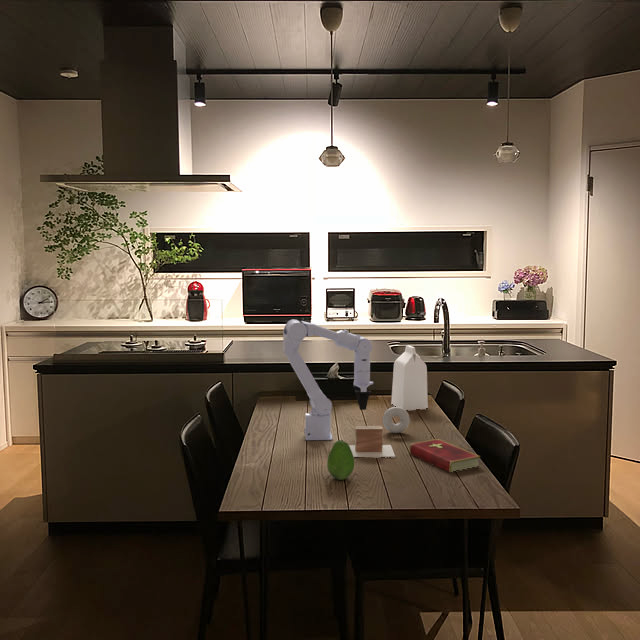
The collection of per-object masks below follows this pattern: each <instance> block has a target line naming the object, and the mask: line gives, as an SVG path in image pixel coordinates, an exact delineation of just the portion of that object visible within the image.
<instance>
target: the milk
mask: <svg viewBox="0 0 640 640" xmlns="http://www.w3.org/2000/svg"><path fill="white" fill-rule="evenodd" d="M427 368H428V367H427V364H426V363H425V361H424V360H422V358H421V357H420V355H419V354H418V353H417V352H416V347H414V346H412V345H408V344H406V345H405V349H404V352H402V353H401V354H400V356H398V357H397V358H396V359H395V361H394V363H393V373H392V374H393V375H392V389H391V403H390V405H392V404H393V405H392V406H393V407H395V406H396V407H401V408H403V409H405V410H408V411H417V410H416V409H420V410H427V409H426V408H428V409H429V407H428V405H429V403H428V401H429V399H428V369H427Z"/></svg>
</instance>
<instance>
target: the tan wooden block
mask: <svg viewBox="0 0 640 640" xmlns="http://www.w3.org/2000/svg"><path fill="white" fill-rule="evenodd" d="M383 431H384V430H383V426H382V425H355V426H354V445H355V451H356V452H382V447H383V445H384V444H383V441H384V439H383V438H384V437H383V435H384V432H383Z"/></svg>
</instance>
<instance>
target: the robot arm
mask: <svg viewBox="0 0 640 640" xmlns="http://www.w3.org/2000/svg"><path fill="white" fill-rule="evenodd" d="M282 334H283V338H282V351H283V354H284V355H285V357H286V359H287V360H288V362H289V364H290V365H291V368H292V369H293V371H294V372H295V374H296V376H297V377H298V379H299V381H300V383H301V384H302V386H303V388H304V390H305V391H306V394H307V396H308V397H309V405H310V406H311V410H310V412H309V413H308V412H306V413H305V417H304V418H305V421H304V422H305V423H304V424H305V426H304V430H303V431H304V436H305V438H304V439H305V441H333V436H332V432H331V428H332V426H331V422H332V421H331V418H332V416H331V412H332V409H333V403H332V401H331V399H329V398H327V396H326V395H325V394H324V393H323V391H322V390H321V389H320V387H319V384H318V383H317V382H316V380H315V378H314V376H313V374H312V373H311V371H310V369H309V367H308V366H307V364H306V362H305V361H304V359H303V357H302V355H301V353H300V352H299V348H300V346H301V343H302V342H303V340H304V339H305V338H306V337H308V338H310V337H312V336H318V337H322V338H324V339H327V340H332V341H333V342H334V344H335V346H338V347H340V348H344V349H347V350H350V351H354V359H353V360H354V361H353V366H354V367H353V369H354V370H353V372H354V373H353V374H354V375H353V379H354V380H353V389H354V392H355V394H356V401H357V405H358V407H359V408H358V409H359V410H360V411H366V409H367V406H368V401H369V399H370V398H369V397H370V396H371V394H372V390H368V389H369V387H370V386H371V385H374V381H371V352H372V351H373V343H372V342H371V341H370V340H369V339H368V338H365V337H364V336H362V335H360V334H358V333H356V334H355V333H351V332H349V330H347V329H340V330H338V331H334V330H331V329H329V328H325V327H323V326H320V325H317V324H316V323H312V322H307V321H303V320H301V321H299V320H298V319H294V318H293V319H290V320H288V321H287V322H286V323H285V326H284V328H283V330H282Z"/></svg>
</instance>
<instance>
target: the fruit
mask: <svg viewBox="0 0 640 640" xmlns="http://www.w3.org/2000/svg"><path fill="white" fill-rule="evenodd" d="M349 445H350V444H348V443H347V442H346V441H345V440H342V439H339V440H336V441H335V442H334V443H333V445H332V447H331V449H330V451H329V453H328V456H327V460H326V461H327V462H326V466H327V471H328V473H329V474H330V475H331V476H332V478H334V479H336V480H337V481H342V480H345V479H348V478H349V477H350V475H352V473H353V471H354V468H355V458H354V457H353V454H352V451H351V449H350V446H349Z"/></svg>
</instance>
